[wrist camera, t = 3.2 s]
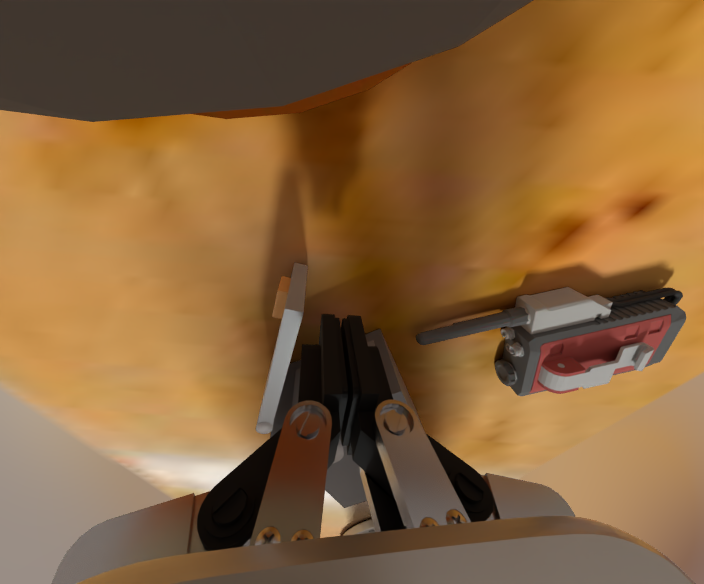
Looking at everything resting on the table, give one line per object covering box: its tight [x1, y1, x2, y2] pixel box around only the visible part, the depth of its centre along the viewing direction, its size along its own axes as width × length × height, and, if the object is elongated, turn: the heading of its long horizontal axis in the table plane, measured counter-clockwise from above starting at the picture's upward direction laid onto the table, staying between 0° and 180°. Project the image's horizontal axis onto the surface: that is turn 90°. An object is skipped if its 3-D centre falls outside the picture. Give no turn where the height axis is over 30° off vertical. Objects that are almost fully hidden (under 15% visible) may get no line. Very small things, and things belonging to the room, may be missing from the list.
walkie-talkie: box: [416, 287, 686, 396], centre depth 19 cm, size 9×4×20 cm
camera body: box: [270, 329, 422, 508], centre depth 19 cm, size 11×10×6 cm
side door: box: [256, 263, 308, 434], centre depth 15 cm, size 1×9×5 cm, turn 161°
